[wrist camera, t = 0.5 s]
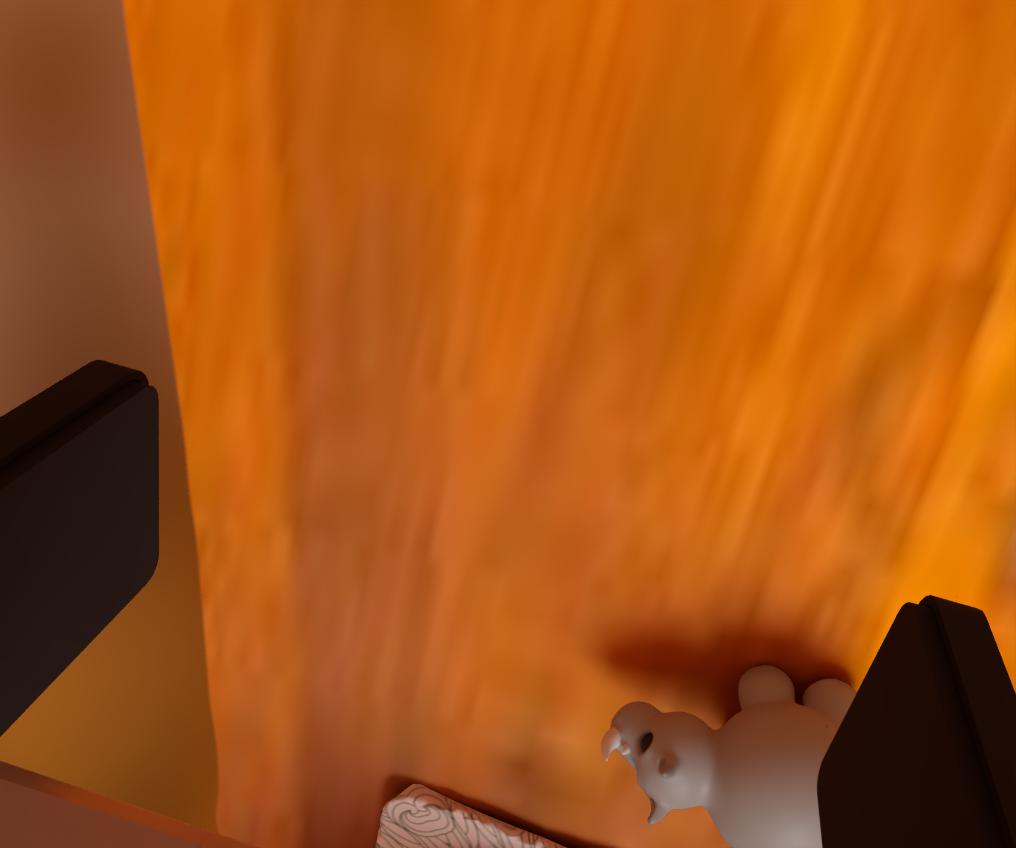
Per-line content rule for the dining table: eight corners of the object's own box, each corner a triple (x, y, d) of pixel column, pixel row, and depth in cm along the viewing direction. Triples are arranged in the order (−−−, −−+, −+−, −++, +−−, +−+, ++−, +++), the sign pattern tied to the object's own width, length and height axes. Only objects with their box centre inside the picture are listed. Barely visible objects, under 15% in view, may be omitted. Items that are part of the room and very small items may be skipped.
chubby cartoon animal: (626, 612, 46) (604, 743, 38) (878, 670, 44) (908, 819, 37) (603, 718, 50) (579, 857, 42) (835, 776, 48) (854, 932, 40)
